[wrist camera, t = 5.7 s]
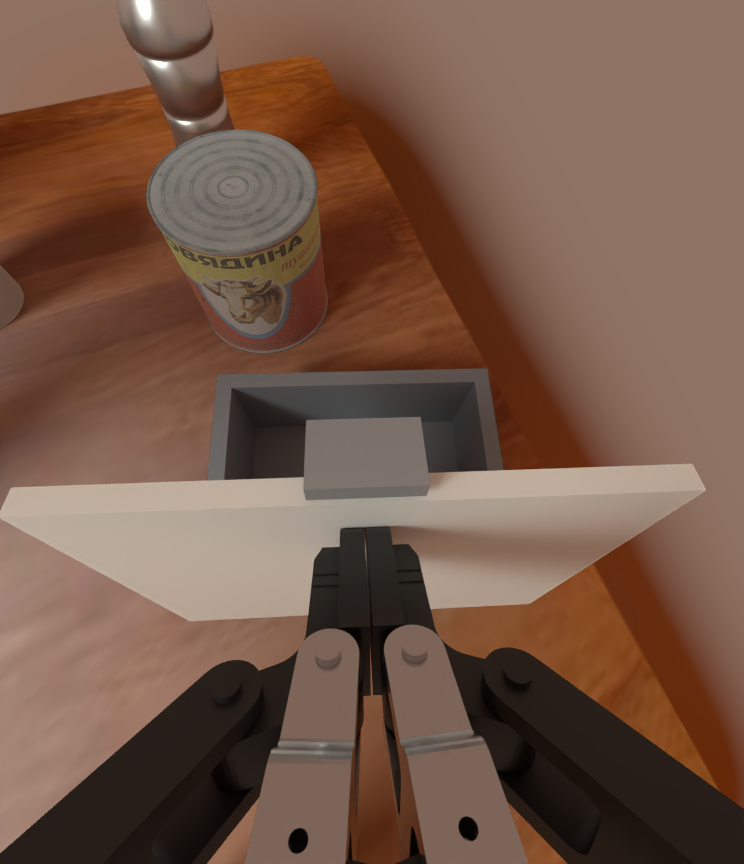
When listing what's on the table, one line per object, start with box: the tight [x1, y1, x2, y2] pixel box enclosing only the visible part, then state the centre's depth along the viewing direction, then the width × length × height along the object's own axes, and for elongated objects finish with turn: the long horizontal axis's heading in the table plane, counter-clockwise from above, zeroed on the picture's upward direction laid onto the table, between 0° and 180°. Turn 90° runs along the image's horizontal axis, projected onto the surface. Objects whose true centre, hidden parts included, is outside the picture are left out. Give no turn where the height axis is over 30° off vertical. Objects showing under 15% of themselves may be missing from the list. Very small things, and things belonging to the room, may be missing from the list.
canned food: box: [146, 130, 328, 353], centre depth 34 cm, size 11×11×12 cm
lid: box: [0, 417, 706, 621], centre depth 17 cm, size 15×18×2 cm
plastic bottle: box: [117, 0, 235, 147], centre depth 35 cm, size 6×7×20 cm
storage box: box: [207, 368, 504, 481], centre depth 29 cm, size 14×18×8 cm
